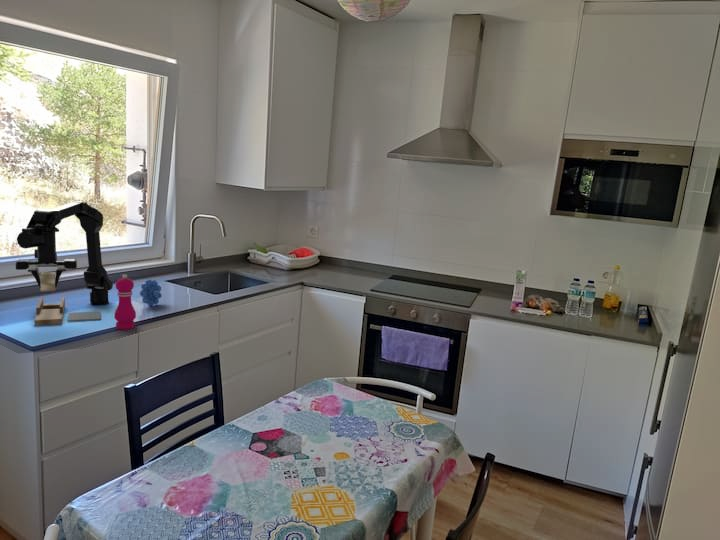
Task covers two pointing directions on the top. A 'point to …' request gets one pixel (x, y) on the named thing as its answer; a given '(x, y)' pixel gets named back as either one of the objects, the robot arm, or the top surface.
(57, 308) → the walnut trough
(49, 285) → the maple block
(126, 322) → the pepper mill
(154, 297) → the grapes
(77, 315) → the slate pad
